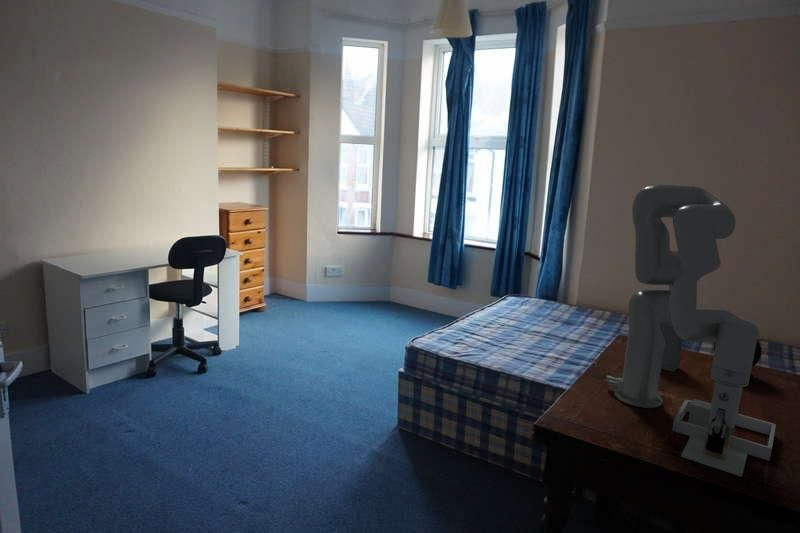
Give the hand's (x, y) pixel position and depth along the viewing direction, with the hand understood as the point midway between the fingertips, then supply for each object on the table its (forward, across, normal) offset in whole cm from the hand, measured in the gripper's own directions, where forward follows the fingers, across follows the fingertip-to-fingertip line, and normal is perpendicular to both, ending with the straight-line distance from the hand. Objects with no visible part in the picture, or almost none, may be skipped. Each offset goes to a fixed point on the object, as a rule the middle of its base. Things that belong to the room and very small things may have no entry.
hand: (717, 443), depth 126 cm
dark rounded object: (+3, +62, +3) cm, 62 cm away
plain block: (+3, +14, +6) cm, 15 cm away
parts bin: (+3, +14, 0) cm, 14 cm away
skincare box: (+3, +52, +22) cm, 57 cm away
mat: (+3, 0, 0) cm, 3 cm away
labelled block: (+2, 0, 0) cm, 2 cm away
